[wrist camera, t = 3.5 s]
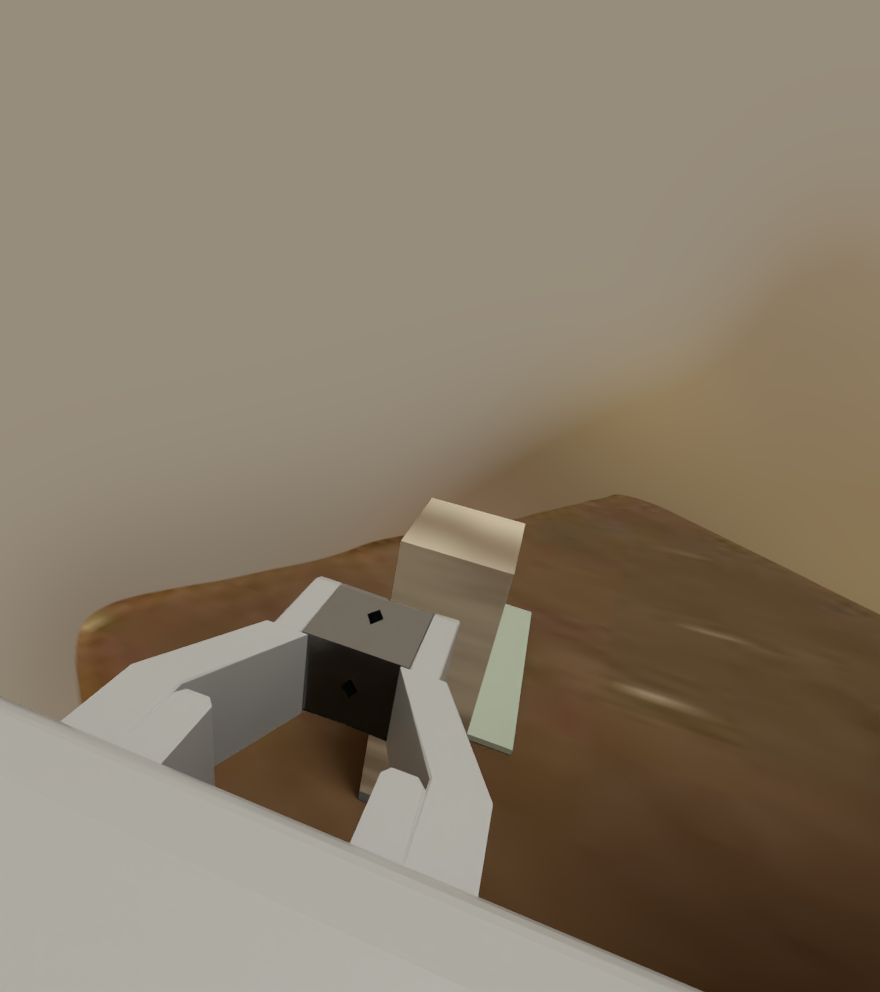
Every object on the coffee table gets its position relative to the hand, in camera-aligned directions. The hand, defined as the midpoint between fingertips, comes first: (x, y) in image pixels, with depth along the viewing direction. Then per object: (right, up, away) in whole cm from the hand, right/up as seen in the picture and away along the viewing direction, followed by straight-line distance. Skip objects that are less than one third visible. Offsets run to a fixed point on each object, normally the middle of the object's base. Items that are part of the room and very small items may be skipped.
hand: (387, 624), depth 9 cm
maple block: (-1, -15, +20) cm, 25 cm away
